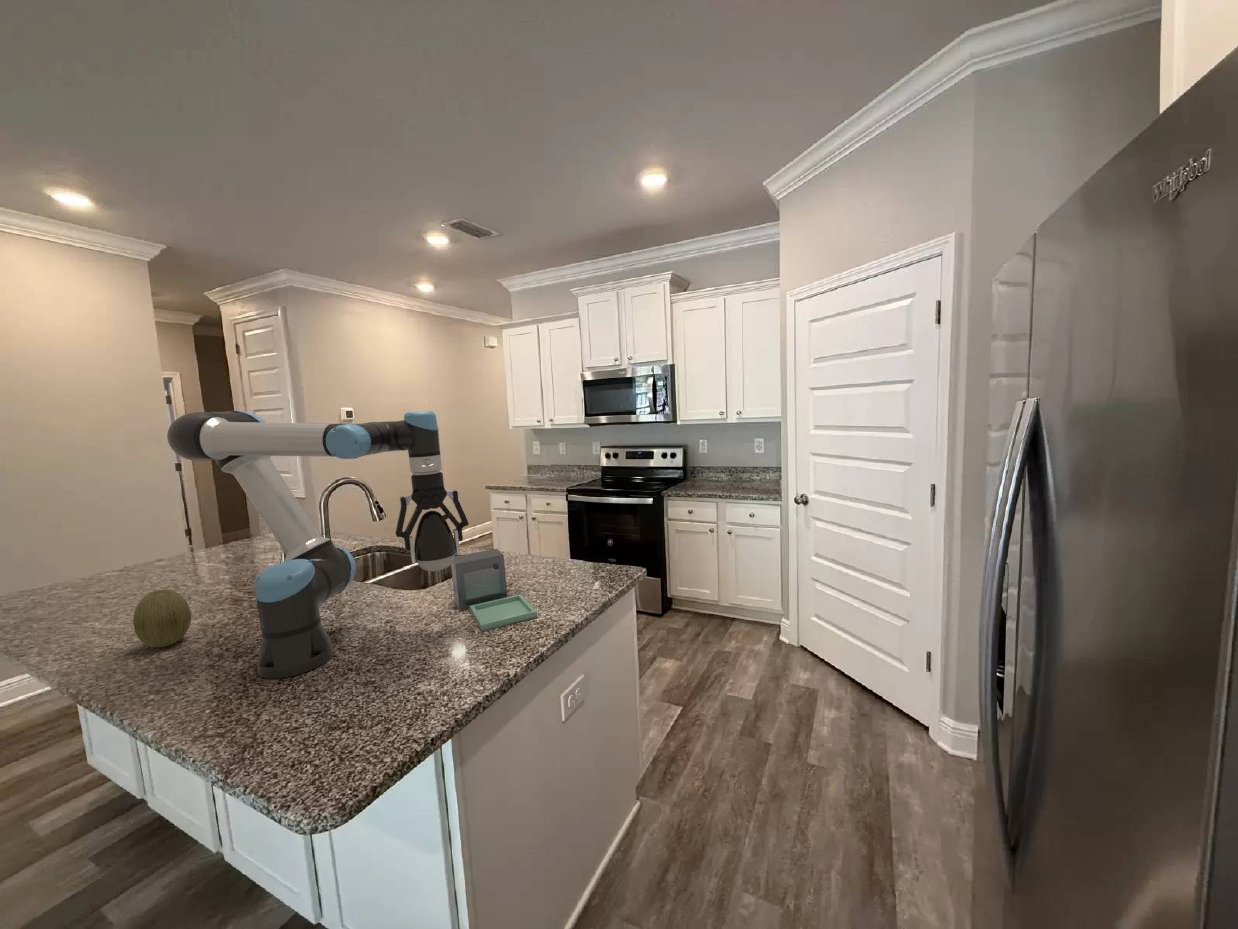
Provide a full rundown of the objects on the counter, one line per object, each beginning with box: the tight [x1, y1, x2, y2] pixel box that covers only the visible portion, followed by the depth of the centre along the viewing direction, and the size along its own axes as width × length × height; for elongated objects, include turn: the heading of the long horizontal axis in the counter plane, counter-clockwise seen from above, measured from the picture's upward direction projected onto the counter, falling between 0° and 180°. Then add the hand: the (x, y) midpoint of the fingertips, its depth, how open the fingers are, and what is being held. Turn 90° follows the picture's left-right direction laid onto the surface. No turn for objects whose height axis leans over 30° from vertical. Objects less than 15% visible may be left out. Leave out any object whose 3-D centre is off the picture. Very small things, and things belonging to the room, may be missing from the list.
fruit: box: [132, 589, 192, 648], centre depth 131 cm, size 11×11×15 cm
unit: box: [450, 548, 508, 612], centre depth 149 cm, size 14×9×14 cm, turn 118°
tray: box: [469, 593, 538, 633], centre depth 139 cm, size 15×15×2 cm
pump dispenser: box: [413, 509, 456, 572], centre depth 128 cm, size 10×10×15 cm
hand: (436, 557), depth 128 cm, fingers closed on pump dispenser, 10 cm apart
